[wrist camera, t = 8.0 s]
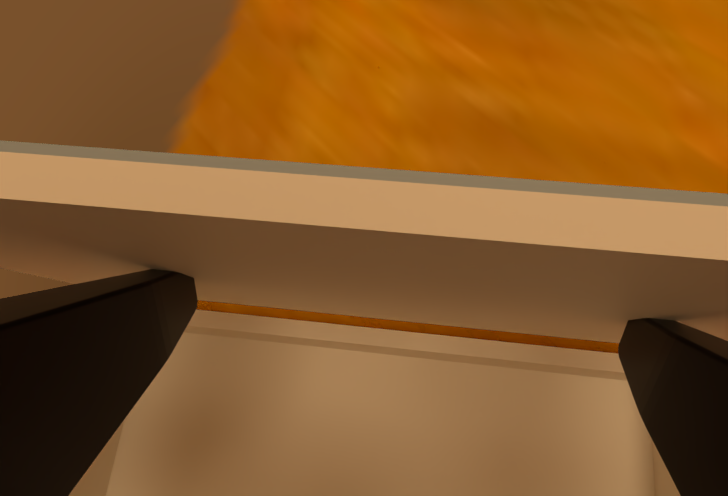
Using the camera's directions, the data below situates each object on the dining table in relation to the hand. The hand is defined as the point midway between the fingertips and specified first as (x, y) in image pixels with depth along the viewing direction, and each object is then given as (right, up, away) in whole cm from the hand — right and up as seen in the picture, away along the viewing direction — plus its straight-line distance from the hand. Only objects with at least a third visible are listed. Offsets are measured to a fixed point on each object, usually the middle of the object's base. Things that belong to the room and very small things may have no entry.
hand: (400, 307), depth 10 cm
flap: (0, 0, +1) cm, 1 cm away
